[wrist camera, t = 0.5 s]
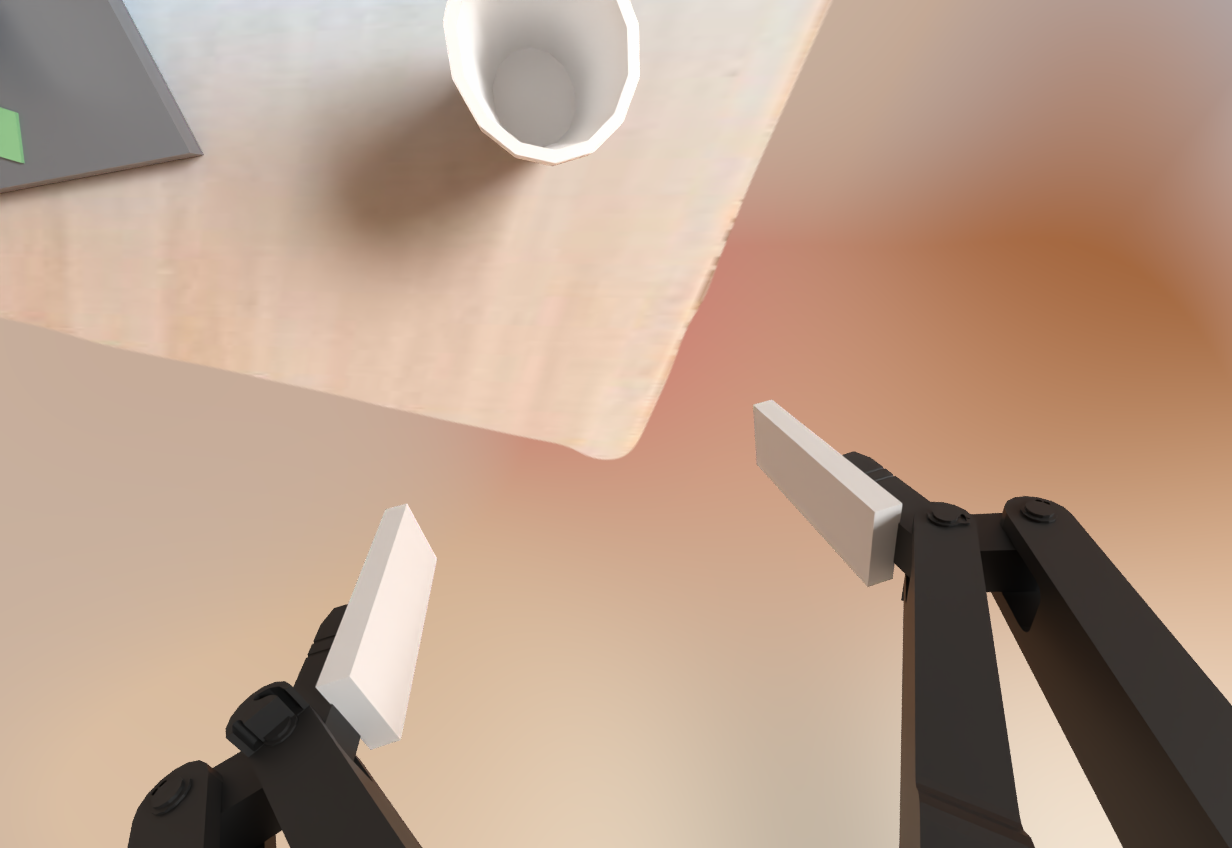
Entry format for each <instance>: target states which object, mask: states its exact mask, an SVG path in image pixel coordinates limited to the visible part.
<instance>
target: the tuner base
mask: <svg viewBox="0 0 1232 848" xmlns="http://www.w3.org/2000/svg"><path fill="white" fill-rule="evenodd" d="M200 155H204V154H203V152H202V151H201V149H200V147H199V145H198V143H197V141H196V139H195V137H194V135H193V134H192V132H191V130H190V128H189V126H188V124H187V122H186V120H185V118H184V116H183V115H182V113H181V111H180V109H179V107H178V105H177V103H176V101H175V99H174V98H173V96H172V94H171V92H170V90H169V88H168V86H167V84H166V82H165V80H164V79H163V77H162V75H161V73H160V71H159V69H158V67H157V65H156V63H155V62H154V60H153V58H152V56H151V54H150V52H149V50H148V48H147V46H146V45H145V43H144V41H143V39H142V37H141V35H140V33H139V31H138V29H137V27H136V26H135V24H134V22H133V20H132V18H131V16H130V14H129V12H128V10H127V9H126V7H125V5H124V3H123V1H122V0H0V193H4V192H9V191H14V190H20V189H25V188H30V187H35V186H41V185H46V184H51V183H57V182H62V181H67V180H73V179H78V178H83V177H89V176H94V175H99V174H105V173H110V172H115V171H121V170H126V169H131V168H136V167H142V166H147V165H152V164H158V163H163V162H168V161H174V160H179V159H184V158H190V157H195V156H200Z"/></svg>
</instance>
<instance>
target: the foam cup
mask: <svg viewBox="0 0 1232 848" xmlns="http://www.w3.org/2000/svg"><path fill="white" fill-rule="evenodd" d="M443 26H444V32H445V38H446V44H447V51H448V57H449V63H450V69H451V75H452V79H453V81H454V83H455V85H456V87H457V89H458V91H459V93H460V94H461V96H462V98H463V100H464V101H465V103H466V105H467V107H468V108H469V110H470V112H471V114H472V115H473V117H474V119H475V121H476V122H477V124H478V126H479V128H480V130H481V131H482V132H483V133H485V134H486V135H487V136H488V137H490V138H491V139H492V140H493V141H495V142H496V143H497V144H498V145H500V146H501V147H502V148H504V149H505V150H506V151H507V152H509V153H510V154H511V155H512V156H514V157H515V158H518V159H523V160H527V161H532V162H536V163H541V164H545V165H550V166H555V165H558V164H561V163H565V162H568V161H571V160H575V159H578V158H581V157H585V156H588V155H590V154H591V153H593V152H594V151H595V150H596V149H597V148H598V147H599V146H600V145H601V144H602V143H603V142H604V141H605V140H606V139H607V138H608V137H609V136H610V135H611V134H612V133H613V132H614V131H615V130H616V129H617V128H618V127H619V126H620V125H621V124H622V123H623V122H624V119H625V116H626V113H627V111H628V108H629V105H630V102H631V100H632V97H633V94H634V92H635V89H636V86H637V83H638V81H639V78H640V71H639V24H638V21H637V18H636V16H635V13H634V10H633V8H632V5H631V2H630V0H447V5H446V9H445V14H444V18H443Z"/></svg>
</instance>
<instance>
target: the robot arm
mask: <svg viewBox="0 0 1232 848" xmlns="http://www.w3.org/2000/svg"><path fill="white" fill-rule="evenodd" d="M753 412H754V428H755V444H756V460H757V465H758V466H759V467H760V468H761V469H762V470H763V471H764V473H765V474H766V475H767V476H768V477H769V478H770V479H771V480H772V481H773V483H774V484H775V485H776V486H777V487H778V488H779V489H780V490H781V492H782V493H783V494H784V495H785V496H786V497H787V498H788V499H789V500H790V502H792V504H793V505H794V506H795V507H796V508H797V509H798V510H799V511H800V513H801V514H802V515H803V516H804V517H805V518H806V519H807V520H808V521H809V523H810V524H811V525H812V526H813V527H814V528H815V529H816V530H817V531H818V533H819V534H820V535H821V536H822V537H823V538H824V539H825V540H826V541H827V542H828V544H829V545H830V546H831V547H832V548H833V549H834V550H835V551H836V552H837V554H838V555H839V556H840V557H841V558H842V559H843V560H844V561H845V562H846V564H847V565H848V566H849V567H850V568H851V569H852V570H853V571H854V572H855V573H856V574H857V576H858V577H859V578H860V579H861V580H862V581H863V582H864V583H865V585H866V586H867V587H869V586H872V585H875V584H878V583H881V582H884V581H887V580H890V579H893V571H894V564H896V565H897V566H898V567H899V568H900V569H901V570H902V571H903V572H904V573H905V579H904V586H903V592H902V599H901V600H902V601H904V615H903V616H904V617H903V672H902V674H903V675H902V730H901V731H902V732H901V788H900V844H899V848H1035V847H1034V844H1033V842H1032V839H1031V837H1030V836H1029V835H1028V834H1027V833H1026V832H1025V831H1024V830H1023V827H1022V824H1021V820H1020V815H1019V808H1018V803H1017V795H1016V789H1015V782H1014V775H1013V768H1012V762H1011V755H1010V749H1009V742H1008V735H1007V728H1006V721H1005V715H1004V708H1003V701H1002V695H1001V688H1000V682H999V675H998V668H997V662H996V654H995V648H994V641H993V635H992V628H991V621H990V614H989V608H988V601H987V594H986V592H991V593H992V595H993V597H994V599H995V600H996V603H997V604H998V606H999V608H1000V610H1001V612H1002V614H1003V616H1004V618H1005V620H1006V622H1007V624H1008V626H1009V628H1010V630H1011V632H1012V633H1013V635H1014V637H1015V639H1016V641H1017V643H1018V645H1019V647H1020V649H1021V651H1022V653H1023V655H1024V656H1025V659H1026V661H1027V663H1028V664H1029V666H1030V668H1031V670H1032V672H1033V674H1034V676H1035V678H1036V680H1037V682H1038V684H1039V686H1040V688H1041V690H1042V691H1043V693H1044V695H1045V697H1046V699H1047V701H1048V703H1049V705H1050V707H1051V709H1052V711H1053V713H1054V715H1055V717H1056V719H1057V720H1058V723H1059V724H1060V726H1061V728H1062V730H1063V732H1064V734H1065V736H1066V738H1067V740H1068V742H1069V744H1070V746H1071V748H1072V749H1073V751H1074V753H1075V755H1076V757H1077V759H1078V761H1079V763H1080V765H1081V767H1082V769H1083V771H1084V773H1085V775H1086V777H1087V778H1088V781H1089V782H1090V784H1091V786H1092V788H1093V790H1094V792H1095V794H1096V795H1097V798H1098V800H1099V802H1100V804H1101V805H1102V808H1103V810H1104V811H1105V813H1106V815H1107V817H1108V819H1109V821H1110V823H1111V825H1112V827H1113V829H1114V831H1115V832H1116V834H1117V836H1118V839H1119V841H1120V842H1121V844H1122V846H1123V848H1232V706H1231V704H1230V703H1229V702H1228V700H1227V699H1226V698H1225V697H1224V696H1223V694H1222V693H1221V692H1220V691H1219V690H1218V688H1217V687H1216V686H1215V685H1214V684H1213V682H1212V681H1211V680H1210V679H1209V678H1208V677H1207V675H1206V674H1205V673H1204V672H1203V671H1202V669H1201V668H1200V667H1199V666H1198V665H1197V663H1196V662H1195V661H1194V660H1193V659H1192V657H1191V656H1190V655H1189V654H1188V653H1187V651H1186V650H1185V649H1184V648H1183V647H1182V645H1181V644H1180V643H1179V642H1178V641H1177V639H1176V638H1175V637H1174V636H1173V635H1172V633H1171V632H1170V631H1169V630H1168V629H1167V627H1166V626H1165V625H1164V624H1163V623H1162V621H1161V620H1160V619H1159V618H1158V617H1157V615H1156V614H1155V613H1154V612H1153V611H1152V609H1151V608H1150V607H1149V606H1148V605H1147V603H1145V601H1144V600H1143V599H1142V597H1141V596H1140V595H1139V594H1138V593H1137V592H1136V591H1135V589H1134V588H1133V587H1132V586H1131V584H1130V583H1129V582H1128V581H1127V580H1126V578H1125V577H1124V576H1123V575H1122V574H1121V572H1120V571H1119V570H1118V569H1117V568H1116V567H1115V565H1114V564H1113V563H1112V562H1111V561H1110V559H1109V558H1108V557H1107V556H1106V554H1105V553H1104V552H1103V551H1102V550H1101V549H1100V547H1099V546H1098V545H1097V544H1096V542H1095V541H1094V540H1093V539H1092V538H1091V537H1090V536H1089V534H1088V533H1087V532H1086V531H1085V529H1084V528H1083V527H1082V526H1081V525H1080V523H1079V522H1078V521H1077V520H1076V519H1075V517H1074V516H1073V515H1072V514H1071V513H1070V512H1069V511H1068V510H1066V509H1065V508H1064V507H1062V506H1060V505H1058V504H1056V503H1054V502H1052V501H1049V500H1046V499H1042V498H1038V497H1028V496H1023V497H1015V498H1012V499H1010V500H1008V501H1007V503H1006V504H1005V506H1004V510H1003V513H992V514H969V513H968V512H967V511H966V510H964V509H962V508H960V507H958V506H955V505H952V504H948V503H944V502H930V501H928V500H927V499H926V498H924V497H923V496H922V495H920V494H919V493H918V492H916V491H915V490H913V489H912V488H911V487H910V486H908V485H907V484H905V483H904V482H903V481H901V480H900V479H899V478H897V477H896V476H893V474H892V473H891V472H889V471H888V470H887V469H883V467H882V466H881V465H880V464H878V463H877V462H875V461H874V460H873V459H871V458H870V457H867V456H865V455H862V454H859V453H857V452H851V453H847V454H844V455H841V454H840V453H838V452H837V451H836V450H835V449H833V448H832V447H831V446H830V445H828V444H827V443H826V442H825V441H823V440H822V439H821V438H819V437H818V436H817V435H816V434H814V433H813V432H812V431H811V430H809V429H808V428H807V427H806V426H805V425H803V424H802V423H801V422H799V421H798V420H797V419H796V418H794V417H793V416H792V415H790V414H789V413H788V412H787V411H786V410H784V409H783V408H782V407H781V406H779V405H778V404H777V403H776V402H774V401H773V400H769V401H765V402H761V403H758V404H754V405H753ZM436 561H437V558H436V556H435V554H434V552H433V551H432V549H431V547H430V545H429V543H428V542H427V539H426V538H425V536H424V534H423V532H422V530H421V528H420V527H419V525H418V523H417V521H416V519H415V517H414V515H413V513H412V512H411V510H410V508H409V506H408V504H407V503H406V504H403V505H399V506H396V507H393V508H389V509H385V512H384V514H383V517H382V520H381V522H380V524H379V527H378V529H377V532H376V535H375V537H374V540H373V542H372V545H371V547H370V550H369V552H368V555H367V557H366V560H365V562H364V565H363V568H362V570H361V573H360V575H359V578H358V580H357V583H356V585H355V588H354V590H353V593H352V595H351V598H350V601H349V603H348V604H347V605H343V606H340V607H337V608H334V609H333V610H332V611H331V613H330V614H329V615H328V617H327V618H326V619H325V620H324V621H323V623H322V624H321V625H320V628H319V630H318V632H317V634H316V637H315V639H314V644H312V646H311V648H310V650H309V653H308V658H306V660H305V662H304V664H303V666H302V669H301V671H300V673H299V676H298V678H297V680H296V682H295V685H294V687H292V686H291V685H290V684H288V683H286V682H285V681H283V682H274V683H272V684H269V685H267V686H264V687H262V688H261V689H259V690H258V691H256V692H255V693H253V694H252V695H251V696H249V697H248V698H247V699H246V700H245V701H244V702H243V703H242V704H241V705H240V706H239V707H238V708H237V710H236V711H235V712H234V714H233V715H232V716H231V718H230V720H229V723H228V725H227V727H226V738H227V739H228V740H229V741H230V742H231V743H232V744H234V745H235V746H236V747H237V748H238V749H239V750H241V752H239V753H237V754H236V755H234V756H233V757H231V758H229V759H227V760H226V761H224V762H222V763H220V764H219V765H217V766H215V767H214V768H211V767H210V766H209V765H208V764H207V763H205V762H202V761H200V760H198V761H193V762H188V763H186V764H184V765H182V766H181V767H179V768H177V769H175V770H174V771H172V772H171V773H170V774H168V775H167V776H166V777H164V778H163V779H162V780H161V781H160V782H159V783H158V784H157V785H156V786H155V787H154V788H153V789H152V790H151V791H150V792H149V793H148V794H147V796H146V797H145V799H144V800H143V801H142V803H141V804H140V806H139V807H138V809H137V812H136V814H135V817H134V819H133V823H132V827H131V833H130V838H129V843H128V848H276V835H275V834H277V833H278V832H280V831H281V830H282V831H283V833H284V834H285V837H286V839H287V841H288V844H289V846H290V848H422V847H421V845H420V844H419V842H418V841H417V840H416V838H415V837H414V836H413V834H412V833H411V831H410V830H409V828H408V827H407V826H406V824H405V823H404V821H403V820H402V819H401V817H400V816H399V814H398V813H397V811H396V810H395V808H394V807H393V806H392V804H391V803H390V801H389V800H388V799H387V797H386V796H385V794H384V793H383V791H382V790H381V789H380V787H379V786H378V784H377V783H376V782H375V780H374V779H373V777H372V776H371V774H370V773H369V772H368V770H367V769H366V767H365V766H364V764H363V763H362V762H361V761H360V759H359V758H358V757H357V756H356V751H357V748H358V744H359V740H360V738H361V739H362V740H363V741H364V743H365V744H366V745H367V746H368V747H369V748H370V750H372V749H375V748H378V747H381V746H384V745H387V744H390V743H393V742H396V741H399V740H401V736H402V731H403V725H404V721H405V716H406V711H407V706H408V701H409V696H410V691H411V686H412V681H413V676H414V671H415V666H416V661H417V656H418V651H419V646H420V641H421V636H422V631H423V626H424V621H425V616H426V611H427V606H428V601H429V596H430V591H431V586H432V581H433V576H434V571H435V566H436Z"/></svg>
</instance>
